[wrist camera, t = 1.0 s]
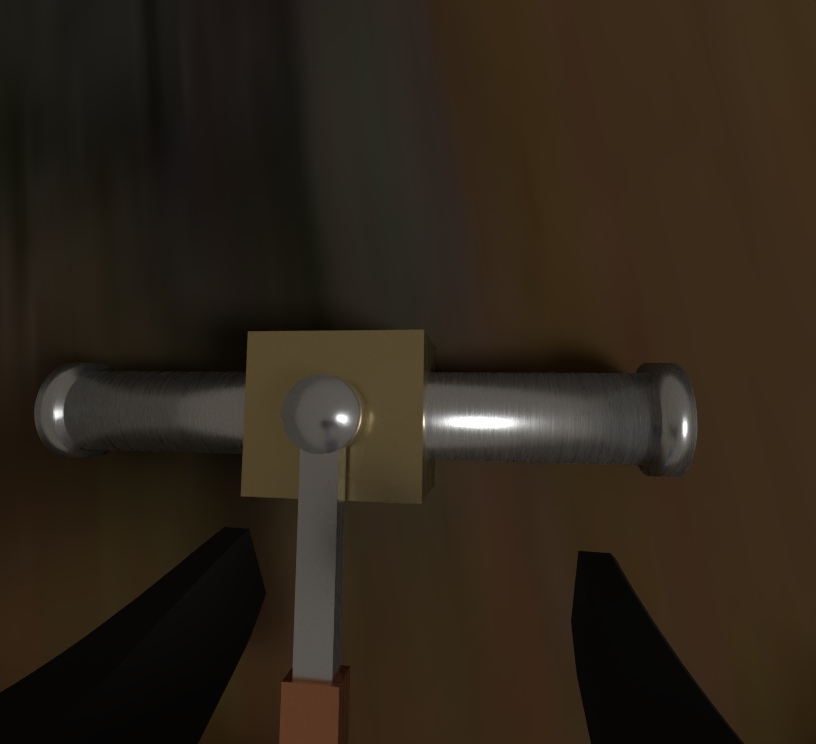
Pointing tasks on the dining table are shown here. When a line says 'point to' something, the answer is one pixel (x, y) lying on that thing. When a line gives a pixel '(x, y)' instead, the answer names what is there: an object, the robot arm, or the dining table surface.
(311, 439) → the lever
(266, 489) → the valve pipe
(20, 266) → the dining table surface
